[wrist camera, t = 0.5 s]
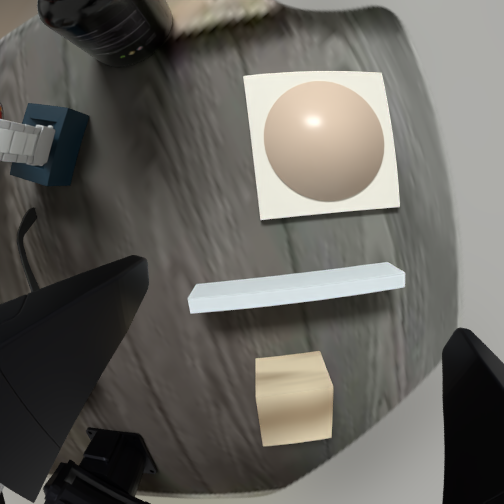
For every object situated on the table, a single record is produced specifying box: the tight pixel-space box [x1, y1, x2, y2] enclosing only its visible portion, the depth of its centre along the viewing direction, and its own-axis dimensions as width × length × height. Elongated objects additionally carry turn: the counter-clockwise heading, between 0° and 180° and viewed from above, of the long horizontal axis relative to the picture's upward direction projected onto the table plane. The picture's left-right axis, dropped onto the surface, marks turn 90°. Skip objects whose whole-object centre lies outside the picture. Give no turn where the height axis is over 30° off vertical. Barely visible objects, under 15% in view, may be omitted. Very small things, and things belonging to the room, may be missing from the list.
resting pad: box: [243, 71, 400, 220], centre depth 19 cm, size 10×10×1 cm
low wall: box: [188, 262, 405, 313], centre depth 20 cm, size 1×14×3 cm, turn 97°
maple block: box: [256, 351, 333, 446], centre depth 21 cm, size 5×5×5 cm
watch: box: [0, 103, 89, 186], centre depth 14 cm, size 6×8×11 cm
